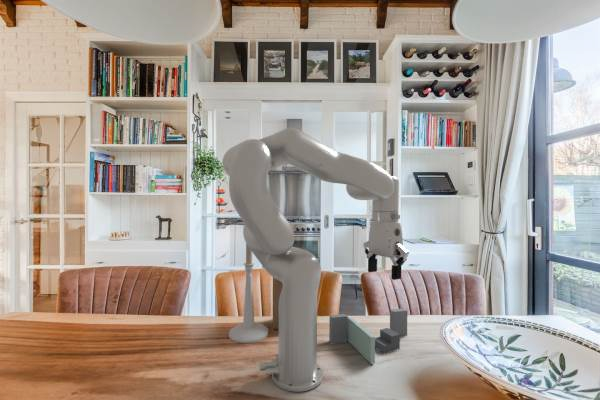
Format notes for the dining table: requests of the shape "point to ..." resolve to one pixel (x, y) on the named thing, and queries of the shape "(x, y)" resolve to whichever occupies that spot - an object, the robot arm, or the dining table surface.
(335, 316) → the door frame
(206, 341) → the dining table surface
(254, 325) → the candlestick
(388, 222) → the robot arm
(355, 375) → the dining table surface
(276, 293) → the wooden block
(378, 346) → the dark grey stepped block
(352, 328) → the door
